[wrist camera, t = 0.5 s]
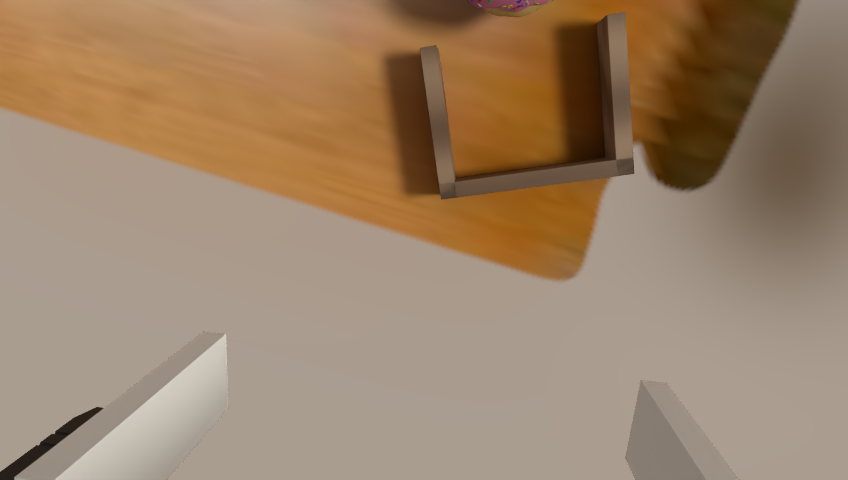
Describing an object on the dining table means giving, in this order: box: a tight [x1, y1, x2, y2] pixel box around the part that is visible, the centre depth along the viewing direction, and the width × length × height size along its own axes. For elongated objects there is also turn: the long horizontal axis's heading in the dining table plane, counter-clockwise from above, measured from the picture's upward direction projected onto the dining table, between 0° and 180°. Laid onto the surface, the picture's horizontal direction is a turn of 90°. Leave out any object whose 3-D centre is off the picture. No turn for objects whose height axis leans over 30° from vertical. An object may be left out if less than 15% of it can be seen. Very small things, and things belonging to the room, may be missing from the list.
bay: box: [420, 12, 634, 199], centre depth 36 cm, size 11×14×3 cm
